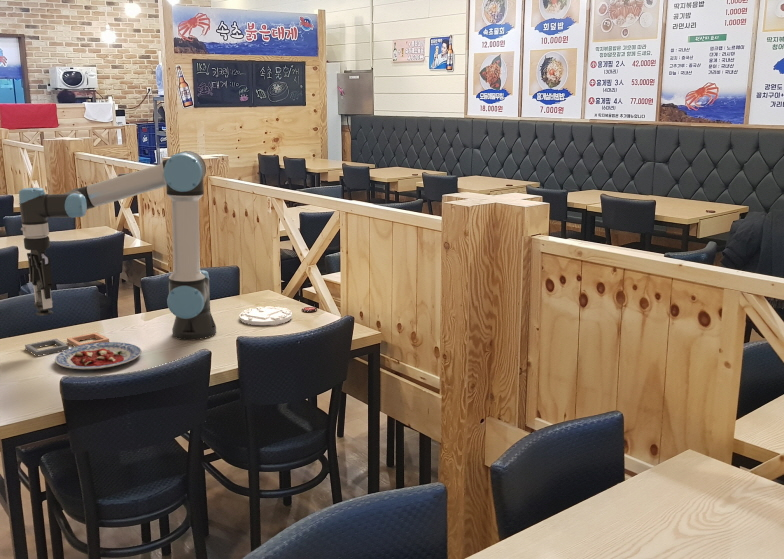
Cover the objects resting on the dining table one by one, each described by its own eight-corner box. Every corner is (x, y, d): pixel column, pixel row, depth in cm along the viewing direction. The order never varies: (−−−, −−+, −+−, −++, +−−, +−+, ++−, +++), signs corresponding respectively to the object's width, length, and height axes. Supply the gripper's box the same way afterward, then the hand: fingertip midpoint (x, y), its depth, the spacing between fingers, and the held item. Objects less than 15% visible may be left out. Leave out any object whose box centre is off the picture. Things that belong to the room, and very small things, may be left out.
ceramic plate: (55, 379, 226) (54, 369, 226) (55, 353, 249) (54, 345, 249) (145, 368, 237) (145, 359, 236) (137, 344, 260) (136, 336, 259)
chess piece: (47, 316, 247) (43, 280, 244) (30, 315, 248) (26, 279, 245) (58, 311, 252) (54, 276, 250) (42, 310, 253) (38, 275, 251)
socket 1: (68, 349, 253) (68, 345, 252) (37, 356, 246) (36, 352, 245) (56, 342, 260) (56, 338, 259) (25, 349, 253) (25, 344, 253)
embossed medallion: (229, 319, 293) (229, 311, 292) (273, 310, 305) (273, 303, 305) (257, 330, 278) (257, 322, 277) (302, 320, 291) (301, 313, 290)
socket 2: (109, 343, 260) (109, 338, 260) (79, 349, 253) (79, 345, 253) (96, 336, 267) (96, 332, 267) (67, 342, 260) (66, 338, 260)
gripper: (13, 234, 248) (21, 303, 254) (35, 241, 235) (43, 313, 240) (37, 231, 253) (44, 299, 259) (59, 238, 240) (67, 309, 245)
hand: (44, 306), depth 249 cm, fingers closed on chess piece, 6 cm apart
